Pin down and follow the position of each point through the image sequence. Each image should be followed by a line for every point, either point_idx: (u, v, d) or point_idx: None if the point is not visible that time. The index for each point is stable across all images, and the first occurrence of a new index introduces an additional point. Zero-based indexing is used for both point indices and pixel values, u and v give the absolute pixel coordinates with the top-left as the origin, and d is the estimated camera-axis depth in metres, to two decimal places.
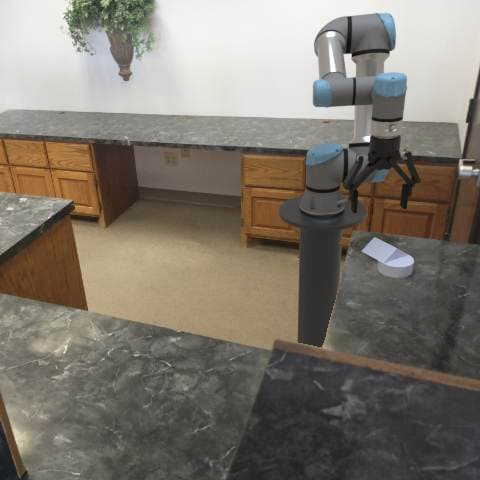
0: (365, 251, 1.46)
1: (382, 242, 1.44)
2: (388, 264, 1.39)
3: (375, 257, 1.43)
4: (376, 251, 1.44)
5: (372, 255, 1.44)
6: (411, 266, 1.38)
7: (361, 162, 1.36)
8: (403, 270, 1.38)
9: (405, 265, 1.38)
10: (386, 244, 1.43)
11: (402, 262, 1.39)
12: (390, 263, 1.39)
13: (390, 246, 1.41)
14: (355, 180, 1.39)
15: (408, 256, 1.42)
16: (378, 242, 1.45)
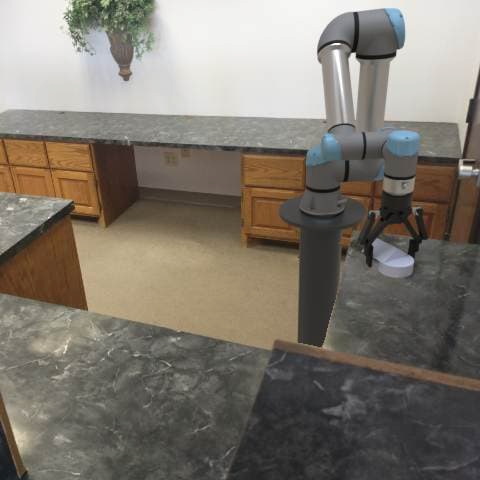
0: None
1: (382, 242, 1.44)
2: (388, 264, 1.39)
3: (375, 257, 1.43)
4: (376, 251, 1.44)
5: None
6: (411, 266, 1.38)
7: (373, 218, 1.36)
8: (403, 270, 1.38)
9: (405, 265, 1.38)
10: (386, 244, 1.43)
11: (402, 262, 1.39)
12: (390, 263, 1.39)
13: (390, 246, 1.41)
14: (370, 235, 1.40)
15: (408, 256, 1.42)
16: (378, 242, 1.45)
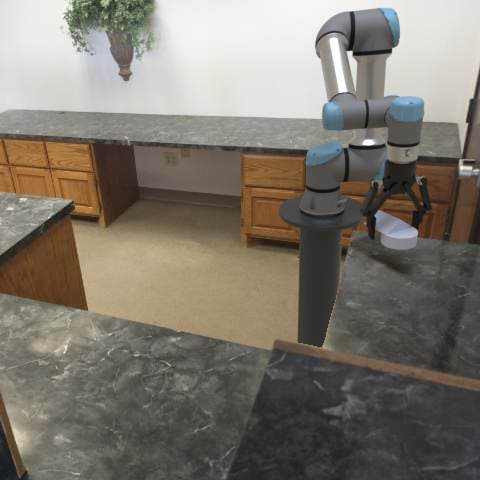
0: None
1: (385, 214, 1.40)
2: (391, 236, 1.35)
3: (378, 229, 1.39)
4: (379, 223, 1.40)
5: None
6: (415, 238, 1.35)
7: (376, 188, 1.33)
8: (407, 242, 1.34)
9: (409, 236, 1.34)
10: (389, 216, 1.39)
11: (406, 233, 1.36)
12: (393, 235, 1.36)
13: (393, 218, 1.38)
14: (372, 206, 1.37)
15: (412, 228, 1.38)
16: (381, 214, 1.41)
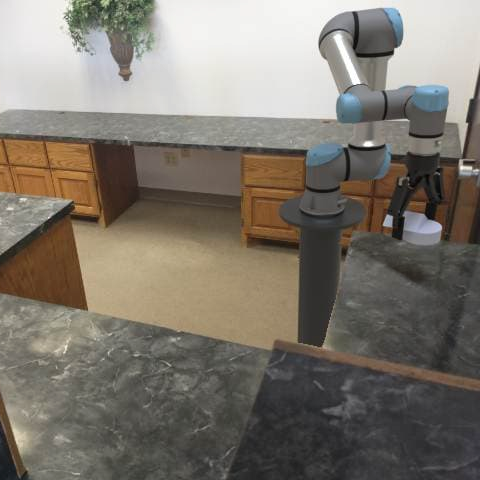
0: (387, 224, 1.34)
1: None
2: (422, 232, 1.29)
3: None
4: None
5: None
6: None
7: (406, 185, 1.24)
8: (438, 235, 1.29)
9: (438, 229, 1.29)
10: (408, 212, 1.32)
11: (431, 227, 1.30)
12: (423, 231, 1.29)
13: (414, 213, 1.32)
14: None
15: (429, 220, 1.34)
16: None
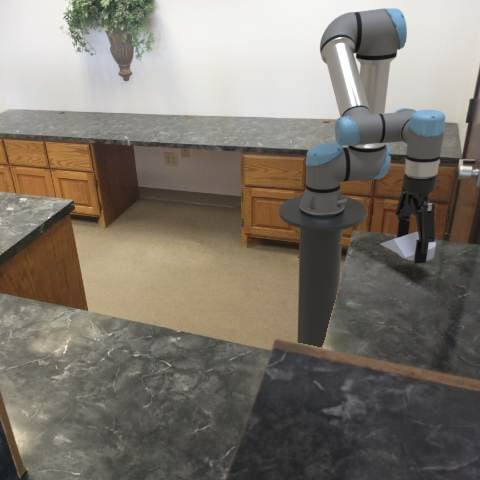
0: (408, 254, 1.30)
1: (404, 237, 1.33)
2: (432, 246, 1.33)
3: None
4: (412, 246, 1.32)
5: None
6: None
7: None
8: None
9: None
10: (409, 235, 1.34)
11: None
12: (430, 245, 1.34)
13: (413, 234, 1.34)
14: None
15: None
16: (403, 239, 1.33)
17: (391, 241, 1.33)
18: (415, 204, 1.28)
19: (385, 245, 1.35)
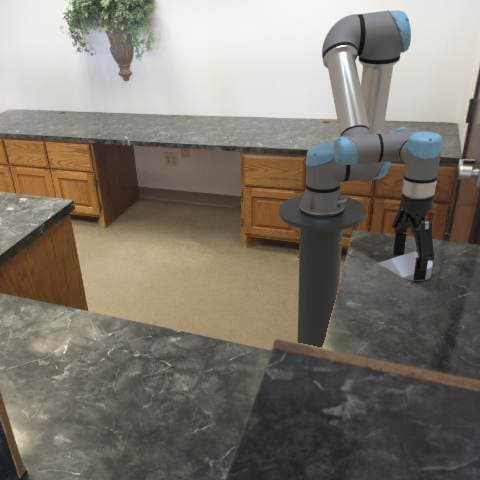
0: (405, 274, 1.33)
1: (402, 257, 1.36)
2: (429, 266, 1.36)
3: None
4: (410, 266, 1.35)
5: (413, 271, 1.34)
6: None
7: None
8: None
9: None
10: (406, 255, 1.36)
11: None
12: (427, 265, 1.36)
13: (410, 254, 1.37)
14: None
15: None
16: (400, 259, 1.35)
17: (389, 261, 1.36)
18: (412, 223, 1.30)
19: (383, 264, 1.38)
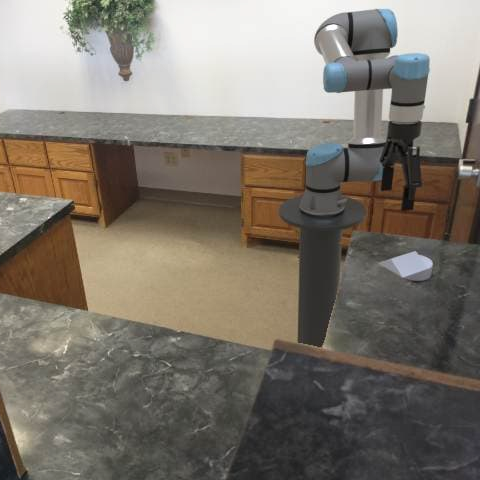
0: (405, 274, 1.33)
1: (402, 257, 1.36)
2: (429, 266, 1.36)
3: (417, 270, 1.34)
4: (410, 266, 1.35)
5: (413, 271, 1.34)
6: None
7: None
8: None
9: (426, 258, 1.40)
10: (406, 255, 1.36)
11: None
12: (427, 265, 1.36)
13: (410, 254, 1.37)
14: None
15: None
16: (400, 259, 1.35)
17: (389, 261, 1.36)
18: (400, 151, 1.27)
19: (383, 264, 1.38)
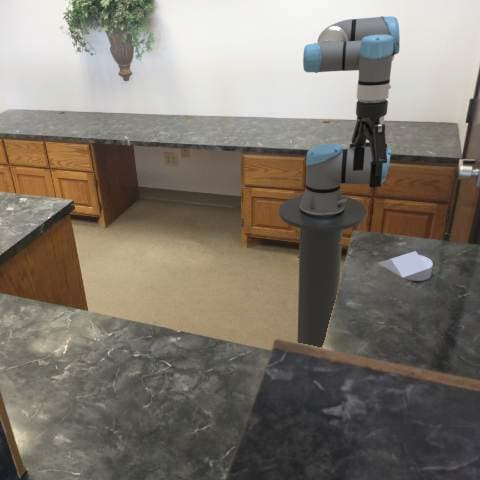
0: (405, 274, 1.33)
1: (402, 257, 1.36)
2: (429, 266, 1.36)
3: (417, 270, 1.34)
4: (410, 266, 1.35)
5: (413, 271, 1.34)
6: None
7: None
8: None
9: (426, 258, 1.40)
10: (406, 255, 1.36)
11: None
12: (427, 265, 1.36)
13: (410, 254, 1.37)
14: None
15: None
16: (400, 259, 1.35)
17: (389, 261, 1.36)
18: (367, 129, 1.32)
19: (383, 264, 1.38)
